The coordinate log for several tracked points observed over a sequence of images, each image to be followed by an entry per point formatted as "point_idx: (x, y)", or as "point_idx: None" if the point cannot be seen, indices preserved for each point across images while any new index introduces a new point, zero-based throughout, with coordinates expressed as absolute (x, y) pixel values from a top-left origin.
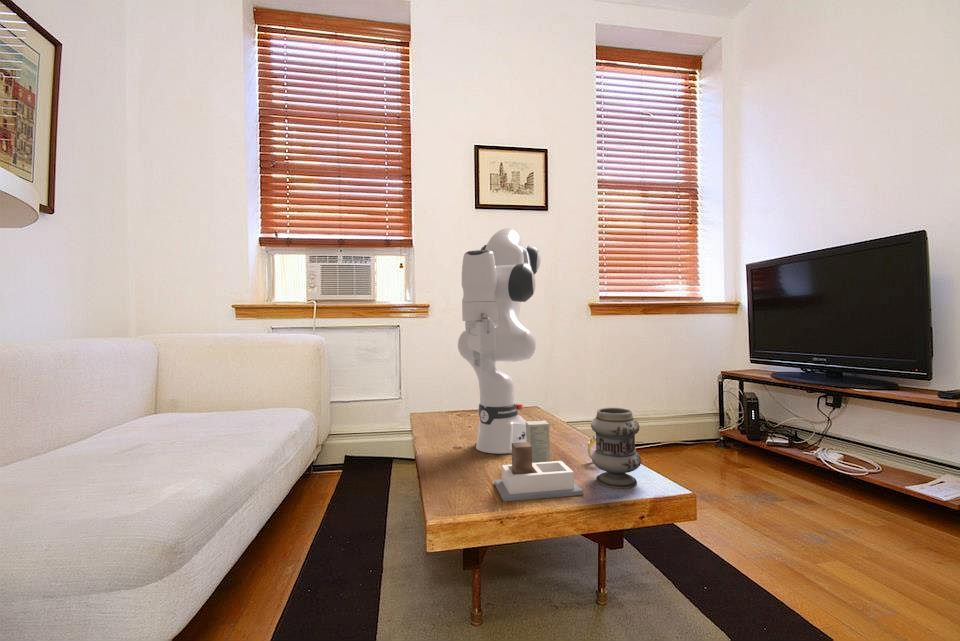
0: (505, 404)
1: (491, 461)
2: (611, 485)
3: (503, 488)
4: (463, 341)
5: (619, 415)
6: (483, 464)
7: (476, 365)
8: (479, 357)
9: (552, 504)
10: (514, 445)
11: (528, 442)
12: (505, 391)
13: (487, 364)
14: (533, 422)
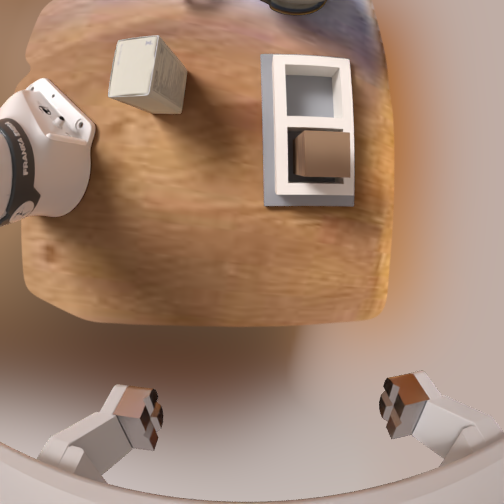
0: (6, 153)
1: (130, 190)
2: (320, 5)
3: (314, 197)
4: None
5: None
6: (146, 210)
7: (160, 416)
8: (104, 431)
9: (377, 126)
10: (331, 175)
11: (164, 103)
12: None
13: (438, 400)
14: (129, 75)
